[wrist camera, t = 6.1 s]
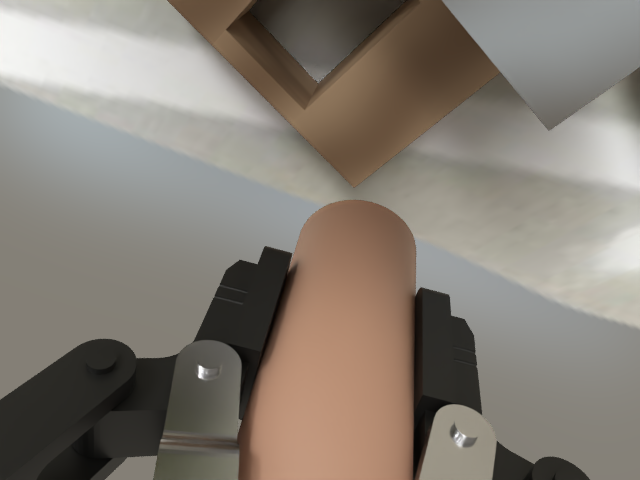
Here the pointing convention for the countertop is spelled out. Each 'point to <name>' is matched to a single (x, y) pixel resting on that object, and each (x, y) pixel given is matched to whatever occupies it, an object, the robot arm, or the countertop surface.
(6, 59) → the countertop surface
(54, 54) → the countertop surface
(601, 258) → the countertop surface
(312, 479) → the peg
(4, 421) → the robot arm
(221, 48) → the socket station
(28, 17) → the countertop surface
